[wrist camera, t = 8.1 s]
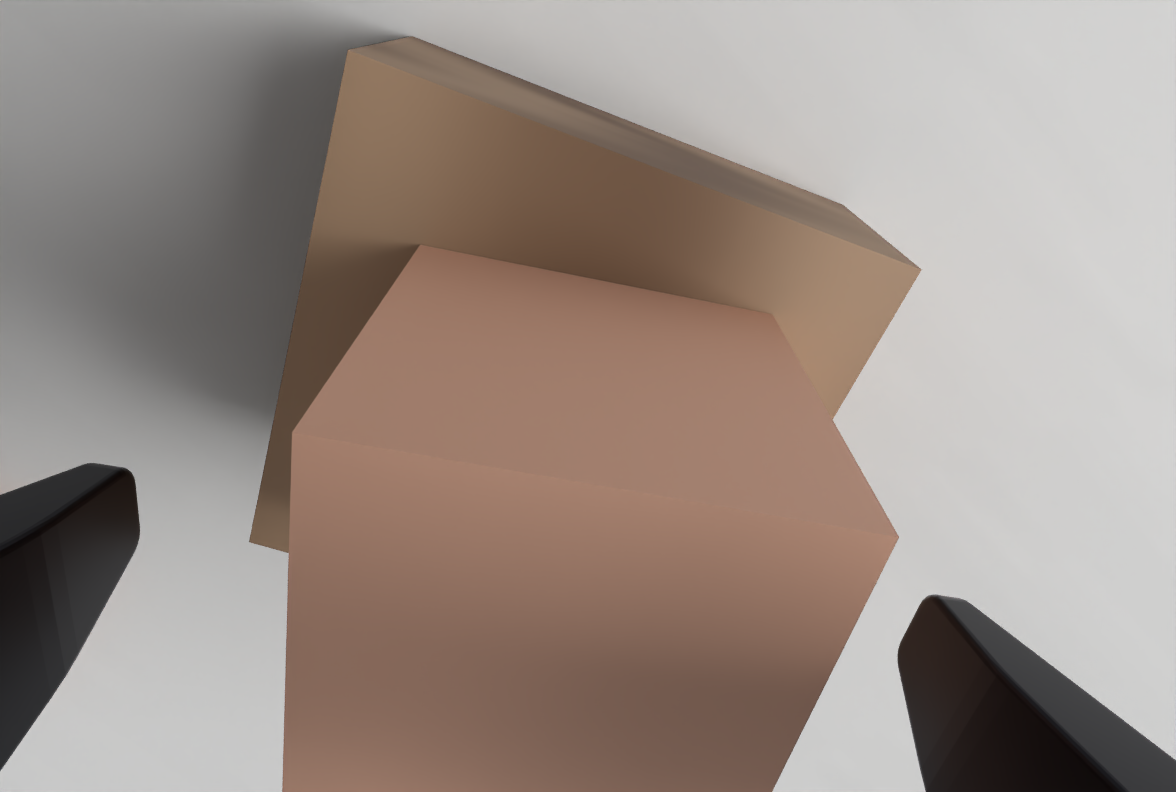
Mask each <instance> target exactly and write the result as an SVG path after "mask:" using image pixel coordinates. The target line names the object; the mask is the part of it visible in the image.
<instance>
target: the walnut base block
mask: <svg viewBox="0 0 1176 792" xmlns="http://www.w3.org/2000/svg"><path fill="white" fill-rule="evenodd" d="M420 245H424V246H430V247H435V248H440V249H445V250H450V251H455V252H460V253H465V254H470V255H475V256H480V257H485V258H490V259H495V260H500V261H505V262H510V263H515V264H520V265H525V266H531V267H536V268H541V269H546V270H551V271H556V272H561V273H566V274H571V275H576V276H581V277H586V278H591V279H596V280H601V281H606V282H611V283H616V284H621V285H626V286H632V287H637V288H642V289H647V290H652V291H657V292H662V293H667V294H672V295H677V296H682V297H687V298H692V299H697V300H702V301H707V302H712V303H717V304H722V305H727V306H733V307H738V308H743V309H748V310H753V311H758V312H763V313H768V314H773V316H774V318H775V320H776V321H777V323H778V325H779V327H780V328H781V330H782V332H783V334H784V335H785V337H786V339H787V341H788V343H789V344H790V346H791V348H792V350H793V351H794V353H795V355H796V357H797V358H798V360H799V362H800V364H801V365H802V367H803V369H804V371H805V372H806V374H807V376H808V378H809V380H810V381H811V383H812V385H813V387H814V388H815V390H816V392H817V394H818V395H819V397H820V399H821V401H822V402H823V404H824V406H825V408H826V409H827V411H828V413H829V415H830V417H831V418H832V419H833V418H834V416H835V414H836V413H837V411H838V409H839V408H840V406H841V404H842V403H843V401H844V399H845V398H846V396H847V394H848V393H849V391H850V389H851V388H852V386H853V384H854V382H855V381H856V379H857V377H858V376H859V374H860V372H861V371H862V369H863V367H864V366H865V364H866V362H867V361H868V359H869V357H870V356H871V354H872V352H873V350H874V349H875V347H876V345H877V344H878V342H879V340H880V339H881V337H882V335H883V334H884V332H885V330H886V329H887V327H888V325H889V324H890V322H891V320H892V319H893V317H894V315H895V313H896V312H897V310H898V308H899V307H900V305H901V303H902V302H903V300H904V298H905V297H906V295H907V293H908V292H909V290H910V288H911V287H912V285H913V283H914V282H915V280H916V278H917V276H918V275H919V273H920V271H921V269H920V268H919V267H918V266H916V265H915V264H914V263H913V262H912V261H910V260H909V259H908V258H907V257H906V256H904V255H903V254H902V253H901V252H899V251H898V250H897V249H896V248H895V247H893V246H892V245H891V244H890V243H889V242H887V241H886V240H885V239H884V238H882V237H881V236H880V235H879V234H878V233H876V232H875V231H874V230H873V229H871V228H870V227H869V226H868V225H867V224H865V223H864V222H863V221H862V220H861V219H859V218H858V217H857V216H856V215H854V214H853V213H852V212H851V211H850V210H848V209H847V208H846V207H845V206H844V205H842V204H839V203H836V202H834V201H831V200H829V199H826V198H824V197H821V196H819V195H816V194H813V193H811V192H808V191H806V190H803V189H801V188H798V187H796V186H793V185H791V184H788V183H785V182H783V181H780V180H778V179H775V178H773V177H770V176H768V175H765V174H762V173H760V172H757V171H755V170H752V169H750V168H747V167H745V166H742V165H739V164H737V163H734V162H732V161H729V160H727V159H724V158H722V157H719V156H716V155H714V154H711V153H709V152H706V151H704V150H701V149H699V148H696V147H694V146H691V145H688V144H686V143H683V142H681V141H678V140H676V139H673V138H671V137H668V136H665V135H663V134H660V133H658V132H655V131H653V130H650V129H648V128H645V127H642V126H640V125H637V124H635V123H632V122H630V121H627V120H625V119H622V118H619V117H617V116H614V115H612V114H609V113H607V112H604V111H602V110H599V109H597V108H594V107H591V106H589V105H586V104H584V103H581V102H579V101H576V100H574V99H571V98H568V97H566V96H563V95H561V94H558V93H556V92H553V91H551V90H548V89H545V88H543V87H540V86H538V85H535V84H533V83H530V82H528V81H525V80H523V79H520V78H517V77H515V76H512V75H510V74H507V73H505V72H502V71H500V70H497V69H494V68H492V67H489V66H487V65H484V64H482V63H479V62H477V61H474V60H471V59H469V58H466V57H464V56H461V55H459V54H456V53H454V52H451V51H448V50H446V49H443V48H441V47H438V46H436V45H433V44H431V43H428V42H426V41H423V40H420V39H418V38H415V37H413V36H411V37H406V38H401V39H397V40H392V41H387V42H382V43H378V44H373V45H368V46H363V47H359V48H354V49H349V50H348V52H347V57H346V62H345V67H344V71H343V76H342V81H341V86H340V91H339V96H338V101H337V106H336V111H335V116H334V121H333V126H332V131H331V136H330V141H329V146H328V151H327V156H326V161H325V166H324V171H323V176H322V181H321V186H320V191H319V196H318V201H317V206H316V211H315V216H314V221H313V226H312V231H311V236H310V241H309V246H308V251H307V256H306V261H305V266H304V271H303V276H302V281H301V286H300V291H299V296H298V301H297V306H296V311H295V316H294V321H293V326H292V331H291V336H290V341H289V346H288V351H287V356H286V361H285V366H284V371H283V376H282V381H281V386H280V391H279V396H278V401H277V406H276V411H275V416H274V421H273V426H272V431H271V436H270V441H269V446H268V451H267V456H266V461H265V466H264V471H263V476H262V481H261V485H260V490H259V495H258V500H257V505H256V510H255V515H254V520H253V525H252V530H251V535H250V540H249V542H251V543H254V544H258V545H262V546H265V547H269V548H273V549H276V550H280V551H283V552H287V553H289V527H290V490H291V452H292V432H293V430H294V429H295V427H296V426H297V424H298V423H299V421H300V420H301V419H302V417H303V416H304V414H305V413H306V411H307V410H308V408H309V407H310V405H311V404H312V402H313V401H314V399H315V398H316V397H317V395H318V394H319V392H320V391H321V389H322V388H323V386H324V385H325V383H326V382H327V380H328V379H329V378H330V376H331V375H332V373H333V372H334V370H335V369H336V367H337V366H338V364H339V363H340V361H341V360H342V358H343V357H344V356H345V354H346V353H347V351H348V350H349V348H350V347H351V345H352V344H353V342H354V341H355V339H356V338H357V337H358V335H359V334H360V332H361V331H362V329H363V328H364V326H365V325H366V323H367V322H368V320H369V319H370V317H371V316H372V315H373V313H374V312H375V310H376V309H377V307H378V306H379V304H380V303H381V301H382V300H383V298H384V297H385V296H386V294H387V293H388V291H389V290H390V288H391V287H392V285H393V284H394V282H395V281H396V279H397V278H398V276H399V275H400V274H401V272H402V271H403V269H404V268H405V266H406V265H407V263H408V262H409V260H410V259H411V257H412V256H413V255H414V253H415V252H416V250H417V249H418V247H419V246H420Z"/></svg>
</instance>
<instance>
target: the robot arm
mask: <svg viewBox="0 0 1176 792" xmlns="http://www.w3.org/2000/svg"><path fill="white" fill-rule="evenodd" d="M139 535H140V524H139V514H138V504H137V494H136V484H135V479H134V476H133V474H132V473H131V472H130V471H129V470H128V469H126V468H123V467H116V466H110V465H104V464H97V463H87V464H84V465H81V466H78V467H76V468H73V469H70V470H67V471H65V472H62V473H59V474H56V475H54V476H51V477H48V478H45V479H43V480H40V481H37V482H35V483H32V484H29V485H26V486H24V487H21V488H18V489H15V490H13V491H10V492H7V493H4V494H2V495H0V771H1V769H2V768H3V766H4V765H5V764H6V762H7V761H8V759H9V758H10V756H11V755H12V754H13V752H14V751H15V749H16V748H17V746H18V745H19V743H20V742H21V741H22V739H23V738H24V736H25V735H26V733H27V732H28V731H29V729H30V728H31V726H32V725H33V723H34V722H35V721H36V719H37V718H38V716H39V715H40V713H41V712H42V710H43V709H44V708H45V706H46V705H47V703H48V702H49V700H50V699H51V698H52V696H53V695H54V693H55V692H56V690H57V689H58V687H59V685H60V684H61V682H62V681H63V679H64V678H65V676H66V675H67V673H68V671H69V670H70V668H71V666H72V665H73V663H74V661H75V660H76V658H77V656H78V654H79V653H80V651H81V649H82V647H83V645H84V643H85V642H86V640H87V638H88V636H89V634H90V632H91V631H92V629H93V627H94V625H95V623H96V622H97V620H98V618H99V616H100V614H101V612H102V611H103V609H104V607H105V605H106V603H107V601H108V600H109V598H110V596H111V594H112V592H113V591H114V589H115V587H116V585H117V583H118V581H119V580H120V578H121V576H122V574H123V572H124V570H125V569H126V567H127V565H128V563H129V561H130V559H131V558H132V556H133V554H134V552H135V550H136V547H137V544H138V541H139ZM898 668H899V672H900V677H901V682H902V686H903V691H904V696H905V700H906V705H907V710H908V714H909V719H910V724H911V728H912V733H913V738H914V742H915V747H916V752H917V756H918V761H919V766H920V770H921V774H922V778H923V782H924V786H925V790H926V792H1176V760H1175V759H1173V758H1172V757H1171V756H1169V755H1168V754H1167V753H1165V752H1164V751H1163V750H1162V749H1160V748H1159V747H1158V746H1156V745H1155V744H1154V743H1152V742H1151V741H1150V740H1148V739H1147V738H1146V737H1145V736H1143V735H1142V734H1141V733H1139V732H1138V731H1137V730H1135V729H1134V728H1133V727H1131V726H1130V725H1129V724H1127V723H1126V722H1125V721H1124V720H1122V719H1121V718H1120V717H1118V716H1117V715H1116V714H1114V713H1113V712H1112V711H1110V710H1109V709H1108V708H1107V707H1105V706H1104V705H1103V704H1101V703H1100V702H1099V701H1097V700H1096V699H1095V698H1093V697H1092V696H1091V695H1089V694H1088V693H1087V692H1086V691H1084V690H1083V689H1082V688H1080V687H1079V686H1078V685H1076V684H1075V683H1074V682H1072V681H1071V680H1070V679H1068V678H1067V677H1066V676H1065V675H1063V674H1062V673H1061V672H1059V671H1058V670H1057V669H1055V668H1054V667H1053V666H1051V665H1050V664H1049V663H1048V662H1046V661H1045V660H1044V659H1042V658H1041V657H1040V656H1038V655H1037V654H1036V653H1034V652H1033V651H1032V650H1030V649H1029V648H1028V647H1027V646H1025V645H1024V644H1023V643H1021V642H1020V641H1019V640H1017V639H1016V638H1015V637H1013V636H1012V635H1011V634H1010V633H1008V632H1007V631H1006V630H1004V629H1003V628H1002V627H1000V626H999V625H998V624H996V623H995V622H994V621H992V620H991V619H990V618H989V617H987V616H986V615H985V614H983V613H982V612H981V611H979V610H978V609H977V608H975V607H974V606H973V605H972V604H970V603H969V602H967V601H965V600H963V599H960V598H954V597H947V596H941V595H930V596H927V597H926V598H925V599H924V600H923V601H922V602H921V604H920V606H919V608H918V609H917V611H916V613H915V615H914V617H913V619H912V621H911V623H910V625H909V627H908V629H907V631H906V633H905V635H904V637H903V639H902V641H901V643H900V646H899V649H898Z"/></svg>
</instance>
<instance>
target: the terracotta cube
mask: <svg viewBox="0 0 1176 792" xmlns="http://www.w3.org/2000/svg"><path fill="white" fill-rule="evenodd" d="M898 538H899V536H898V535H897V533H896V531H895V529H894V528H893V526H892V524H891V522H890V521H889V519H888V517H887V515H886V513H885V512H884V510H883V508H882V506H881V505H880V503H879V501H878V499H877V498H876V496H875V494H874V492H873V491H872V489H871V487H870V485H869V484H868V482H867V480H866V478H865V476H864V475H863V473H862V471H861V469H860V468H859V466H858V464H857V462H856V461H855V459H854V457H853V455H852V454H851V452H850V450H849V448H848V447H847V445H846V443H845V441H844V439H843V438H842V436H841V434H840V432H839V431H838V429H837V427H836V425H835V424H834V422H833V420H832V418H831V417H830V415H829V413H828V411H827V409H826V408H825V406H824V404H823V402H822V401H821V399H820V397H819V395H818V394H817V392H816V390H815V388H814V387H813V385H812V383H811V381H810V380H809V378H808V376H807V374H806V372H805V371H804V369H803V367H802V365H801V364H800V362H799V360H798V358H797V357H796V355H795V353H794V351H793V350H792V348H791V346H790V344H789V343H788V341H787V339H786V337H785V335H784V334H783V332H782V330H781V328H780V327H779V325H778V323H777V321H776V320H775V318H774V316H773V314H768V313H763V312H758V311H753V310H748V309H743V308H738V307H733V306H727V305H722V304H717V303H712V302H707V301H702V300H697V299H692V298H687V297H682V296H677V295H672V294H667V293H662V292H657V291H652V290H647V289H642V288H637V287H632V286H626V285H621V284H616V283H611V282H606V281H601V280H596V279H591V278H586V277H581V276H576V275H571V274H566V273H561V272H556V271H551V270H546V269H541V268H536V267H531V266H525V265H520V264H515V263H510V262H505V261H500V260H495V259H490V258H485V257H480V256H475V255H470V254H465V253H460V252H455V251H450V250H445V249H440V248H435V247H430V246H424V245H420V246H419V247H418V249H417V250H416V252H415V253H414V255H413V256H412V257H411V259H410V260H409V262H408V263H407V265H406V266H405V268H404V269H403V271H402V272H401V274H400V275H399V276H398V278H397V279H396V281H395V282H394V284H393V285H392V287H391V288H390V290H389V291H388V293H387V294H386V296H385V297H384V298H383V300H382V301H381V303H380V304H379V306H378V307H377V309H376V310H375V312H374V313H373V315H372V316H371V317H370V319H369V320H368V322H367V323H366V325H365V326H364V328H363V329H362V331H361V332H360V334H359V335H358V337H357V338H356V339H355V341H354V342H353V344H352V345H351V347H350V348H349V350H348V351H347V353H346V354H345V356H344V357H343V358H342V360H341V361H340V363H339V364H338V366H337V367H336V369H335V370H334V372H333V373H332V375H331V376H330V378H329V379H328V380H327V382H326V383H325V385H324V386H323V388H322V389H321V391H320V392H319V394H318V395H317V397H316V398H315V399H314V401H313V402H312V404H311V405H310V407H309V408H308V410H307V411H306V413H305V414H304V416H303V417H302V419H301V420H300V421H299V423H298V424H297V426H296V427H295V429H294V430H293V432H292V452H291V490H290V527H289V564H288V602H287V639H286V677H285V714H284V751H283V789H282V792H772V791H773V789H774V787H775V785H776V783H777V781H778V779H779V777H780V775H781V773H782V771H783V769H784V766H785V764H786V762H787V760H788V758H789V756H790V754H791V752H792V750H793V748H794V746H795V744H796V742H797V740H798V738H799V736H800V734H801V732H802V730H803V728H804V726H805V724H806V722H807V720H808V718H809V716H810V714H811V712H812V710H813V708H814V706H815V704H816V702H817V700H818V698H819V696H820V694H821V692H822V690H823V688H824V686H825V684H826V682H827V680H828V678H829V676H830V674H831V672H832V670H833V668H834V666H835V664H836V662H837V660H838V658H839V656H840V654H841V652H842V650H843V648H844V646H845V644H846V642H847V640H848V638H849V636H850V634H851V632H852V630H853V628H854V626H855V624H856V622H857V620H858V618H859V616H860V614H861V612H862V610H863V608H864V606H865V604H866V602H867V600H868V598H869V596H870V594H871V592H872V590H873V588H874V586H875V584H876V582H877V580H878V578H879V576H880V574H881V572H882V570H883V568H884V566H885V564H886V562H887V560H888V558H889V556H890V554H891V552H892V550H893V548H894V546H895V544H896V542H897V540H898Z"/></svg>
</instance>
